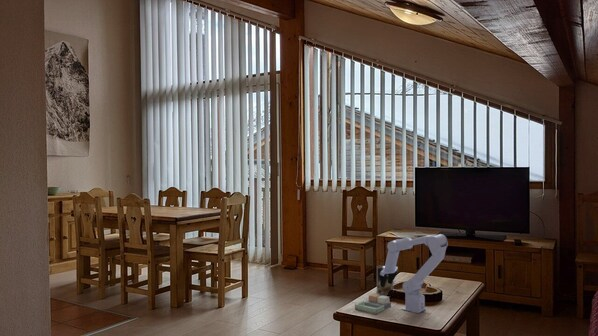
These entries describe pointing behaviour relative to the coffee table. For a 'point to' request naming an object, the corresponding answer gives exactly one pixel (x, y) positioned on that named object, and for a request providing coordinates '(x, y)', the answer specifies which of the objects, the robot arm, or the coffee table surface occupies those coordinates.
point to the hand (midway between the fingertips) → (386, 285)
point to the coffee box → (388, 286)
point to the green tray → (368, 308)
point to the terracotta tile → (373, 297)
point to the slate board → (377, 304)
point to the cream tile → (383, 299)
